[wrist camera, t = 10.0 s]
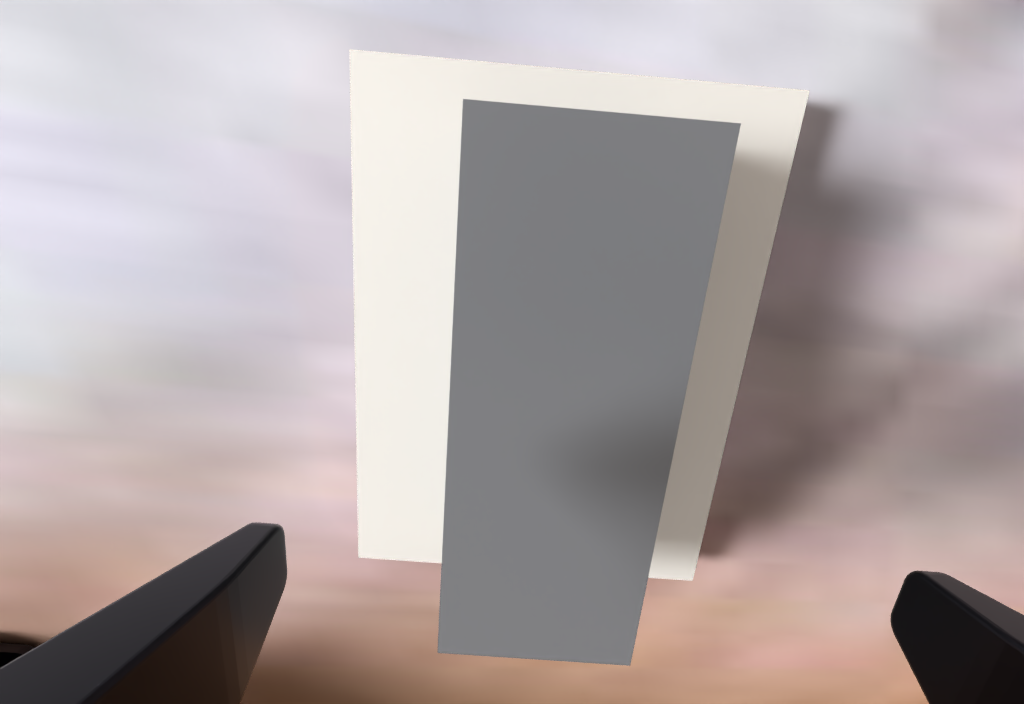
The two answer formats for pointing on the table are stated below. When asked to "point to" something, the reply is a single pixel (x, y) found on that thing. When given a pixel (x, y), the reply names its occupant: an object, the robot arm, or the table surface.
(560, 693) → the table surface
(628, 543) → the block
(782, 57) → the table surface
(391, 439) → the plate
